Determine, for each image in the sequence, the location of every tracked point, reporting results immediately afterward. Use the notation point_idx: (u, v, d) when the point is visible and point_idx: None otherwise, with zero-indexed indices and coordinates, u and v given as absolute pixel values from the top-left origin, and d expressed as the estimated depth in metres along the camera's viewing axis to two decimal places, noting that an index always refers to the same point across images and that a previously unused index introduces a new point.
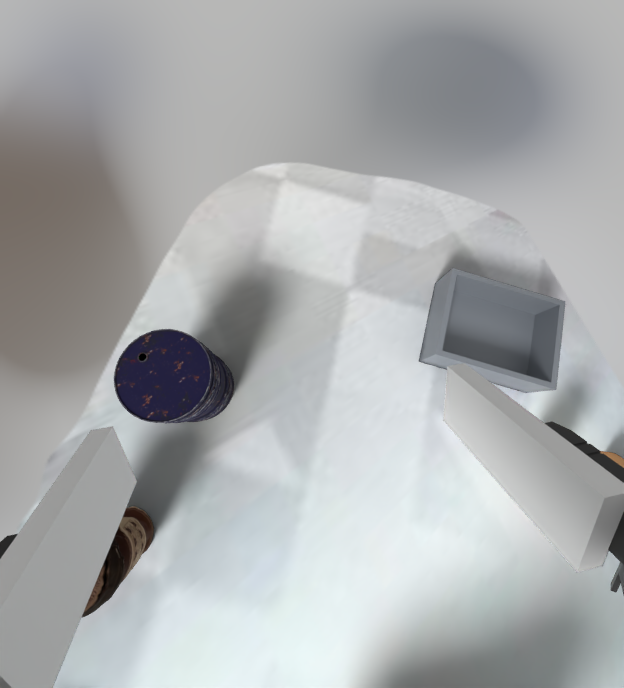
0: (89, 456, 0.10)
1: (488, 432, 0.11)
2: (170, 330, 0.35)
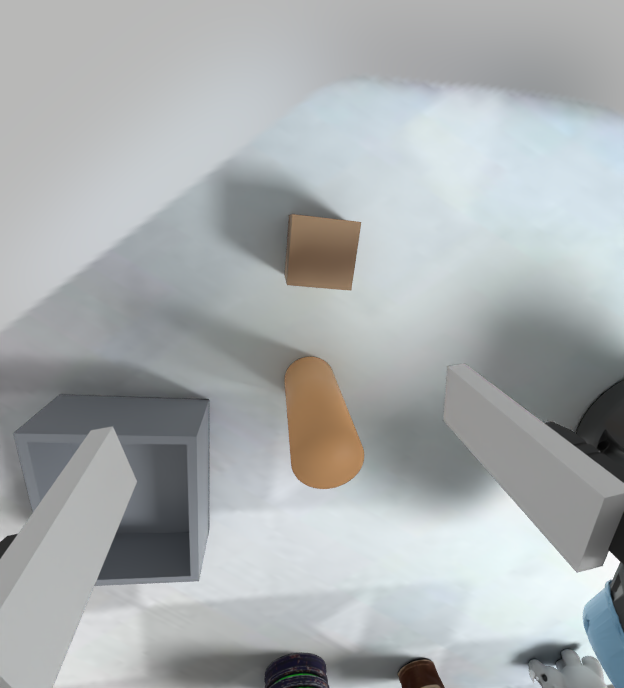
0: (90, 456, 0.10)
1: (488, 432, 0.11)
2: None
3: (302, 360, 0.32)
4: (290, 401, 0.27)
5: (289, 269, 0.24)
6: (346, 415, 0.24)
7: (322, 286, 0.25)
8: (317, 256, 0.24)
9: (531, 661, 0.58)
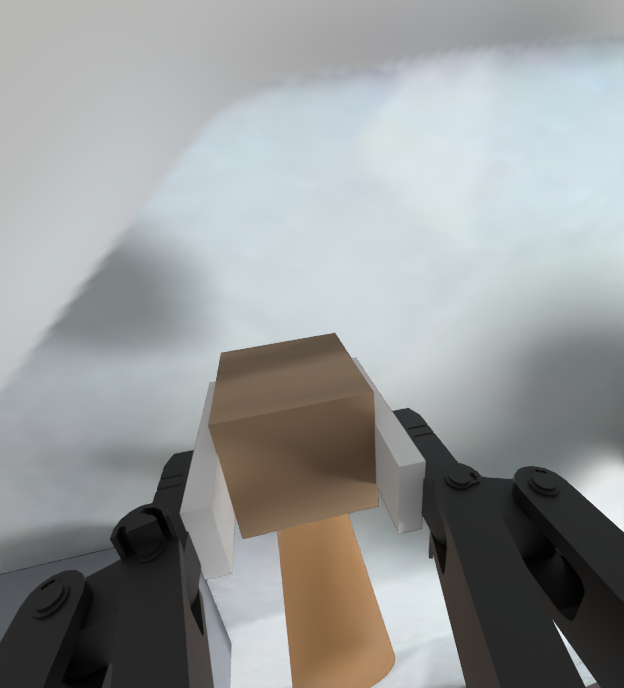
0: None
1: None
2: None
3: None
4: (281, 551, 0.20)
5: (238, 515, 0.11)
6: (358, 585, 0.17)
7: (318, 518, 0.12)
8: (291, 478, 0.11)
9: None
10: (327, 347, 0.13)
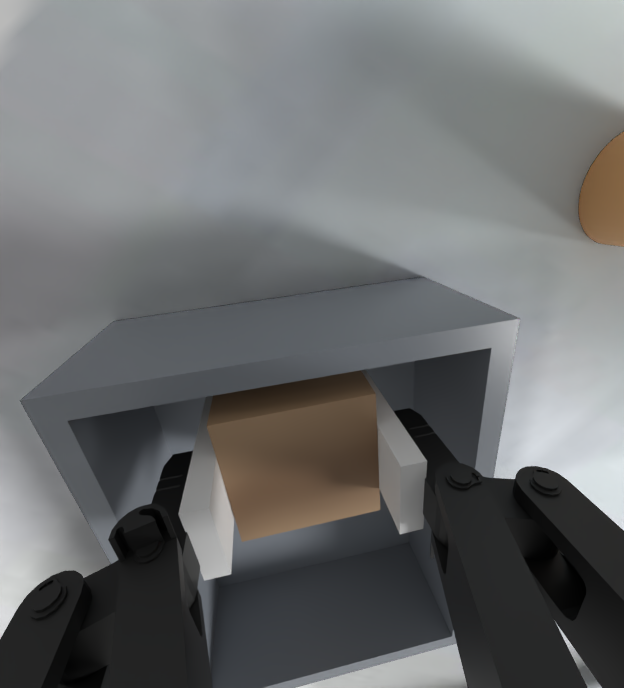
0: None
1: None
2: None
3: None
4: None
5: (238, 518, 0.11)
6: None
7: (318, 521, 0.12)
8: (291, 481, 0.11)
9: None
10: None
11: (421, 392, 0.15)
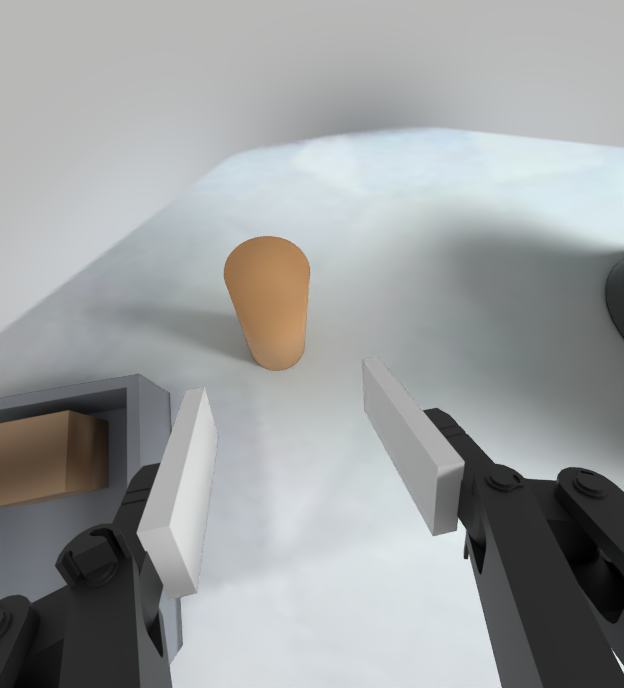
0: (195, 407, 0.12)
1: (385, 418, 0.12)
2: None
3: None
4: None
5: None
6: None
7: (24, 498, 0.20)
8: (16, 463, 0.20)
9: None
10: None
11: None
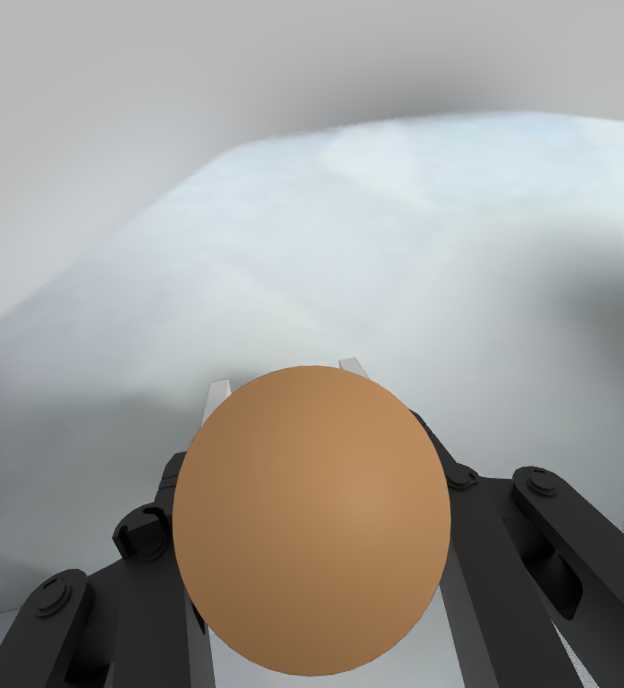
0: (222, 398, 0.13)
1: None
2: None
3: None
4: None
5: None
6: None
7: None
8: None
9: None
10: None
11: None
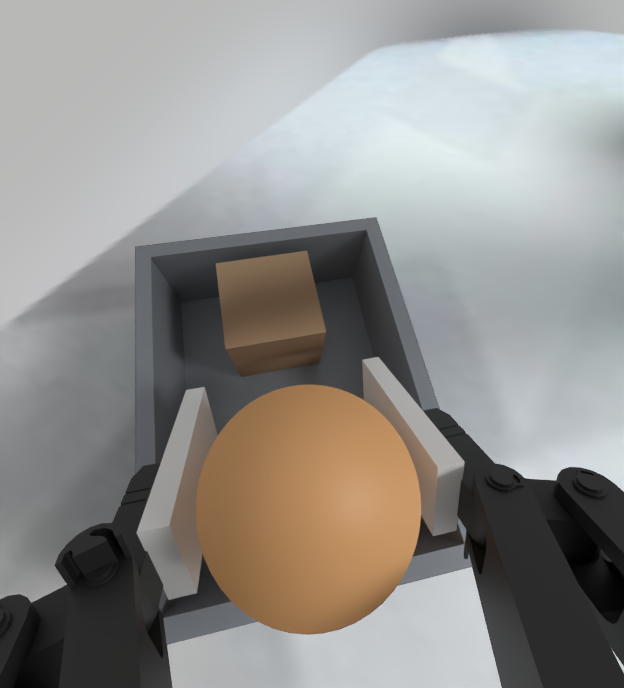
0: (195, 407, 0.12)
1: None
2: None
3: None
4: None
5: (225, 327, 0.16)
6: None
7: (281, 337, 0.16)
8: (261, 301, 0.17)
9: None
10: None
11: (369, 325, 0.21)
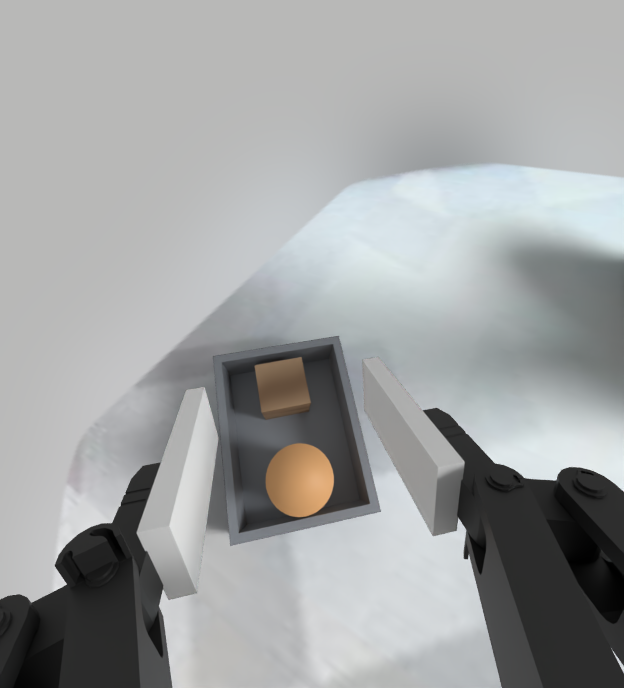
0: (195, 407, 0.12)
1: (385, 418, 0.12)
2: None
3: None
4: None
5: (260, 400, 0.33)
6: None
7: (288, 406, 0.33)
8: (278, 386, 0.34)
9: None
10: None
11: (337, 390, 0.38)
